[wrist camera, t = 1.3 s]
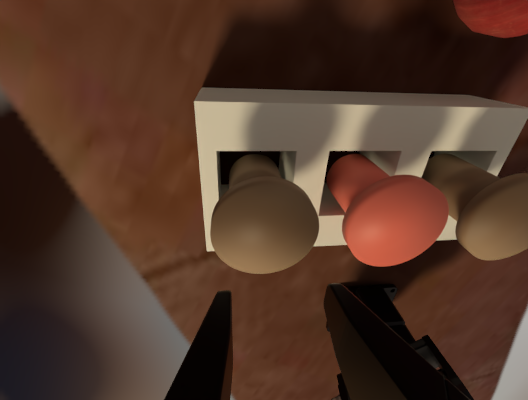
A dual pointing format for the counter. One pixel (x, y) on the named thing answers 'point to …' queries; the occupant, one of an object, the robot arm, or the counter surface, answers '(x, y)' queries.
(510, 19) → the onion
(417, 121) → the jig
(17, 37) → the counter surface
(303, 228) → the walnut plunger near
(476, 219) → the walnut plunger far
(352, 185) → the red plunger
